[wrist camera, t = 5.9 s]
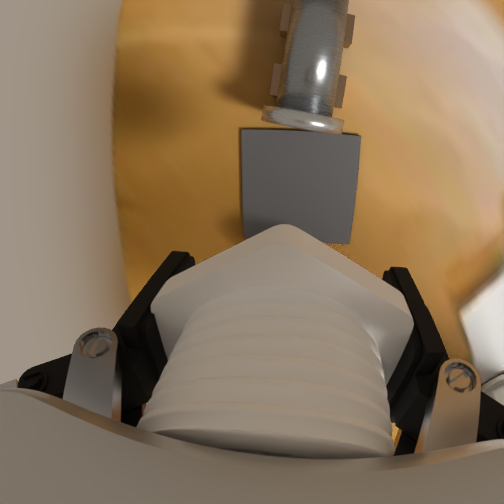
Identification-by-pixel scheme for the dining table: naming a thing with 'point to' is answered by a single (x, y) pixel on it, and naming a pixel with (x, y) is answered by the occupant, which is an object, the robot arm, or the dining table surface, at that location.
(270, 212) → the seat pad
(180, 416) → the pipe fitting
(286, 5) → the shaft
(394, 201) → the dining table surface
